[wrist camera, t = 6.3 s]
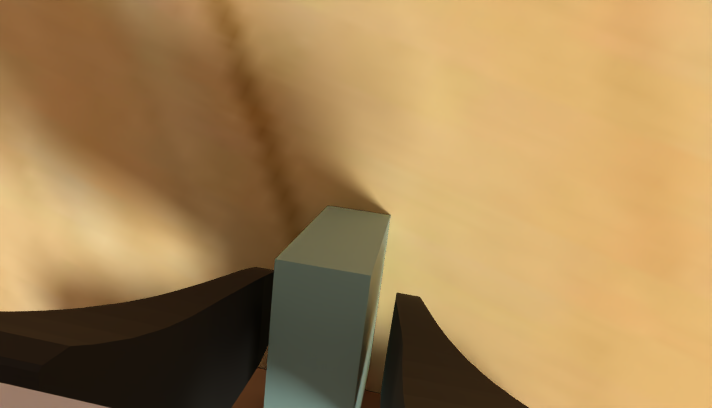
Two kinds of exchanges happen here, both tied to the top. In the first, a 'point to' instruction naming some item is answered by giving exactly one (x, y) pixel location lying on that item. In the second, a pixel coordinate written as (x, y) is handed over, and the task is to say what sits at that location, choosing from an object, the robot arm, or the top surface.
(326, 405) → the cross plate
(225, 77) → the top surface
